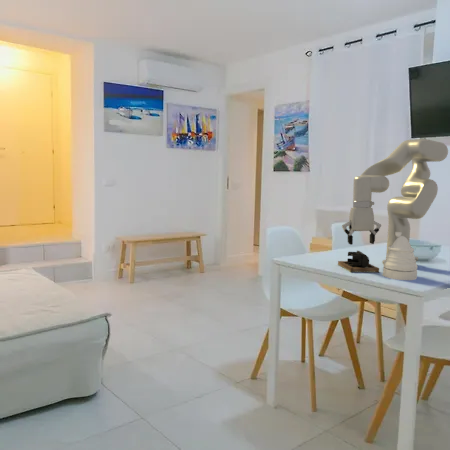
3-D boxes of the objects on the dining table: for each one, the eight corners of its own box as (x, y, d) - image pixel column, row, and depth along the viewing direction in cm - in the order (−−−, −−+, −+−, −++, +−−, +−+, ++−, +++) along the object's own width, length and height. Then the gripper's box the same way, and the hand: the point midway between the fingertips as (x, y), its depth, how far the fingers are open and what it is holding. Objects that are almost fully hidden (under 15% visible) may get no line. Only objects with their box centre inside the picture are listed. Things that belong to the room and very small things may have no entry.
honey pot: (376, 275, 183) (379, 231, 181) (394, 272, 190) (397, 230, 188) (404, 281, 172) (407, 235, 170) (423, 278, 180) (426, 234, 178)
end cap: (368, 270, 190) (369, 254, 189) (352, 269, 190) (353, 253, 189) (362, 265, 200) (363, 250, 199) (346, 264, 200) (347, 250, 199)
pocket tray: (364, 265, 203) (364, 261, 203) (378, 272, 188) (379, 268, 188) (337, 264, 202) (338, 261, 202) (350, 272, 187) (350, 268, 187)
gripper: (377, 203, 197) (376, 241, 199) (339, 204, 195) (338, 243, 197) (385, 205, 189) (383, 244, 191) (345, 206, 188) (345, 246, 190)
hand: (361, 243), depth 194 cm, fingers open, 9 cm apart
